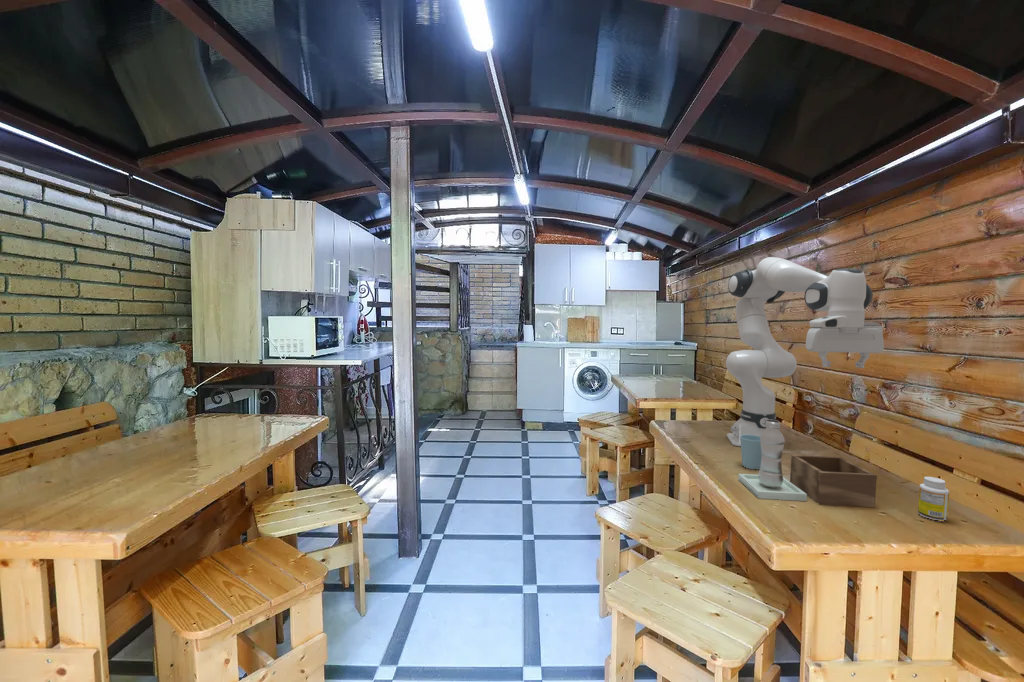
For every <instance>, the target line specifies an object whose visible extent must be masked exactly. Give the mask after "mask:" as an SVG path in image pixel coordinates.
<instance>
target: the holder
mask: <svg viewBox="0 0 1024 682" xmlns="http://www.w3.org/2000/svg"><path fill="white" fill-rule="evenodd" d="M790 457H791V459H790V474H789V482H791V483H792V484H794V485H795V486H796V487H798V488H799V489H800V490H802V491H803V492H805V493H806V494H807V497H808V496H809V498H810V499H811V498H812V499H813V500H812V499H811V500H812V501H814V502H815V503H817V504H818V503H819V505H823V504H824V506H825V504H826V506H828V505H829V506H841V505H842V507H844V506H845V507H859V508H860V507H861V508H862V507H863V508H875V507H876V497H877V496H876V494H877V493H876V492H877V479H878V475H877V474H875V473H873V472H872V471H869V470H867V469H866V468H864V467H861V466H859V465H857V464H855V463H853V462H851V461H850V460H847V459H845V458H843V457H841V456H830V455H829V456H825V455H824V456H823V455H802V454H791V456H790Z"/></svg>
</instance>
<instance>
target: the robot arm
mask: <svg viewBox="0 0 1024 682" xmlns="http://www.w3.org/2000/svg"><path fill="white" fill-rule="evenodd" d="M727 287H728V292H729V293H730V295H732V296H734V297H737V298H739V299H738V300H737V302H736V303H735V319H736V324H737V331H738V334H739V336H738V337H739V338H740V341H742V343H743V344H746V345H747V346H749V347H751V348H752V349H741V350H735V351H731V352H730V353H729V354H728V356H727V357H726V359H725V367H726V369H727V371H728V373H729V374H730V375H732V376H733V377H734V378H735V379H736V380H737V381H738V383H739V385H740V386H741V390H742V409H741V412H740V418H739V419H738V420H737V421H735V422H734V423H733V425H731V426H730V431H731V432H728V433H726V437H727V439H728V440H729V441H730V443H731V445H732V446H737V447H741V441H740V436H741V435H755V436H761V434H762V432H763V431H764V430H765V429H766V426H765V425H766V420H777V416H776V413H777V412H776V411H775V408H776V395H775V392H774V391H773V390H772V389H771V388H769V387H767V386H766V385H763V381H762V378H772V379H773V378H774V379H775V378H776V379H777V378H784V377H790V376H792V375H793V374H794V373H795V371H796V369H797V365H798V364H797V360H796V357H795V355H794V354H793V353H791V352H790V351H787V350H786V349H784V348H783V347H782V346H781V345H780V344H779V343H778V342H777V340H776V339H775V338H774V337H773V335H772V332H771V330H770V326H769V321H768V318H767V314H766V311H765V305H766V303H768V304H772V303H774V302H775V300H777V299H780V298H781V297H782V296H783V295H784V294H785V292H788V293H791V292H792V293H795V292H796V293H797V292H798V293H800V292H801V293H804V302H805V305H806V306H807V307H808V308H809V310H811V311H816V312H827V315H825V316H822V317H818V318H815V319H812V320H809V327H811V328H809V329H808V331H807V333H806V338H805V349H806V350H807V351H808V352H814V353H818V357H819V359H820V360H821V366H822V367H823V368H831V364H832V361H830V360H829V359H828V358H827V356H828V353H855V354H856V353H858V354H859V356H860V358H859V359H858V361H855V367H856V368H858V369H861V368H862V369H864V368H865V363H866V362H867V360H868V359H869V358H870V354H871V353H872V354H881V353H882V352H883V351H884V348H885V342H884V335H883V332H884V326H882V324H880V323H878V322H876V321H874V322H873V321H872V322H869V321H865V319H866V318H865V317H866V311H865V310H866V309H867V308H868V307H869V305H870V304H871V303H872V301H873V299H874V293H873V291H872V289H871V287H870V286H869V284H867V280H866V274H865V272H864V271H863V270H861V269H859V268H836V269H833V270H832V271H831V273H829V275H827V274H825V273H824V274H823V273H821V272H817V271H815V270H813V269H811V268H807V267H805V266H803V265H800V264H799V263H798V264H797V263H795V262H794V261H791V260H788V259H785V258H782V257H777V256H768V257H766V258H763V259H762V260H760V262H758V264H757V265H756V268H755V269H754V270H750V269H749V268H747V269H744V270H741V271H737V272H734V273H733V274H732V275H731V276H730V277H729V280H728V286H727Z"/></svg>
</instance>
